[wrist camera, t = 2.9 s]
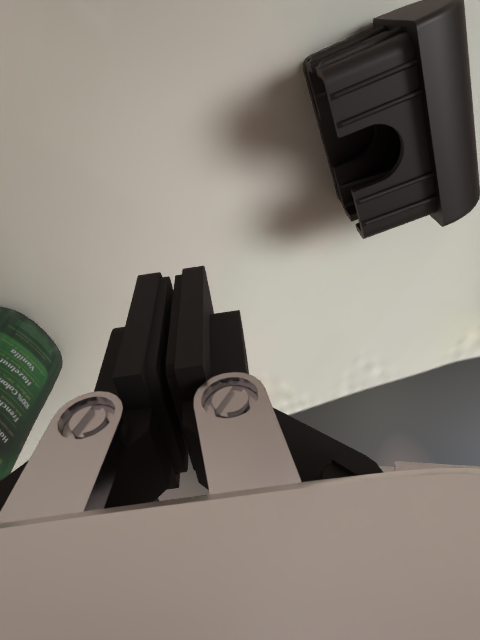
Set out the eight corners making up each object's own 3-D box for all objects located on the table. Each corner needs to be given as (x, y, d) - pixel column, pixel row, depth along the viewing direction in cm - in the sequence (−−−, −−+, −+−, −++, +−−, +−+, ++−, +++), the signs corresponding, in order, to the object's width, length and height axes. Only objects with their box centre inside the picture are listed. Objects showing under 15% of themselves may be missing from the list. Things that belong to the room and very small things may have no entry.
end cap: (446, 170, 30) (502, 207, 24) (341, 210, 31) (370, 255, 25) (425, -7, 24) (490, -12, 19) (297, 50, 25) (323, 61, 20)
